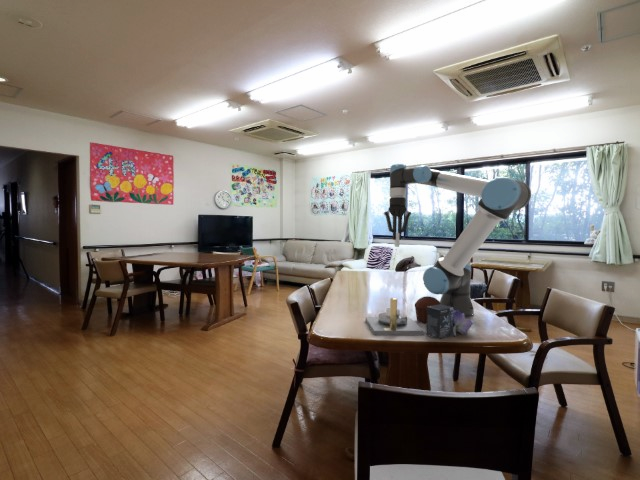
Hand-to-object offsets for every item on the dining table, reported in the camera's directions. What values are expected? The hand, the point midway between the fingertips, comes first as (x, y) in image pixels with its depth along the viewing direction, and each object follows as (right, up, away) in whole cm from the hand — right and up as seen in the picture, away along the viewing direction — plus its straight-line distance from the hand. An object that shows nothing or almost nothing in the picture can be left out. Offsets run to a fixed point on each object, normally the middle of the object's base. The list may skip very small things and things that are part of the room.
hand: (396, 246), depth 158 cm
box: (+6, -32, -39) cm, 51 cm away
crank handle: (-9, -29, -32) cm, 44 cm away
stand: (-9, -31, -31) cm, 44 cm away
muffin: (+8, -31, -22) cm, 39 cm away
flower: (+14, -32, -37) cm, 50 cm away
